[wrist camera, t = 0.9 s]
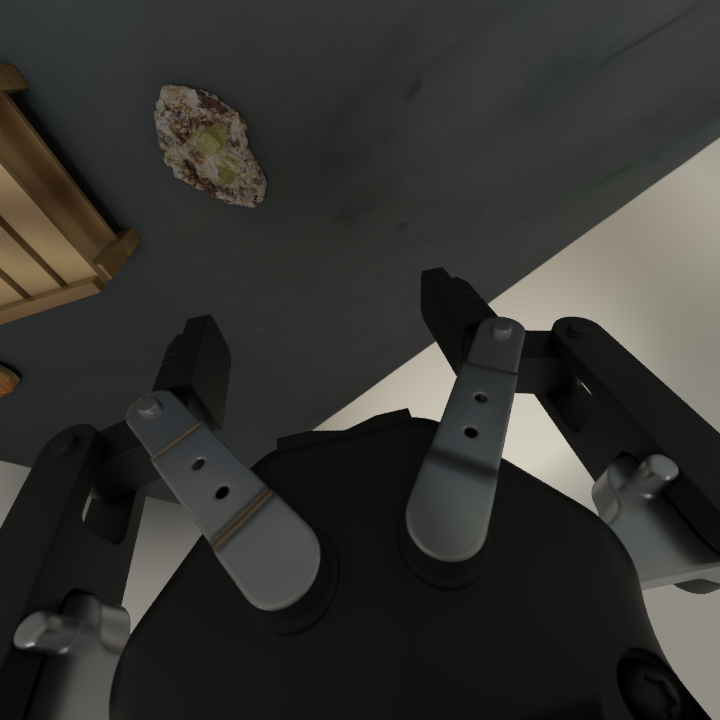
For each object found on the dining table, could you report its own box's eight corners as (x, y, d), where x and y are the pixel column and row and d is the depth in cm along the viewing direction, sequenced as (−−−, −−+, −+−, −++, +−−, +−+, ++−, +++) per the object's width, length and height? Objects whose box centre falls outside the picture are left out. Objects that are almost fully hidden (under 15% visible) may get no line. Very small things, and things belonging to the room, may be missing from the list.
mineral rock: (119, 141, 27) (173, 64, 23) (141, 122, 30) (193, 50, 26) (230, 238, 34) (286, 191, 30) (240, 215, 36) (292, 170, 33)
